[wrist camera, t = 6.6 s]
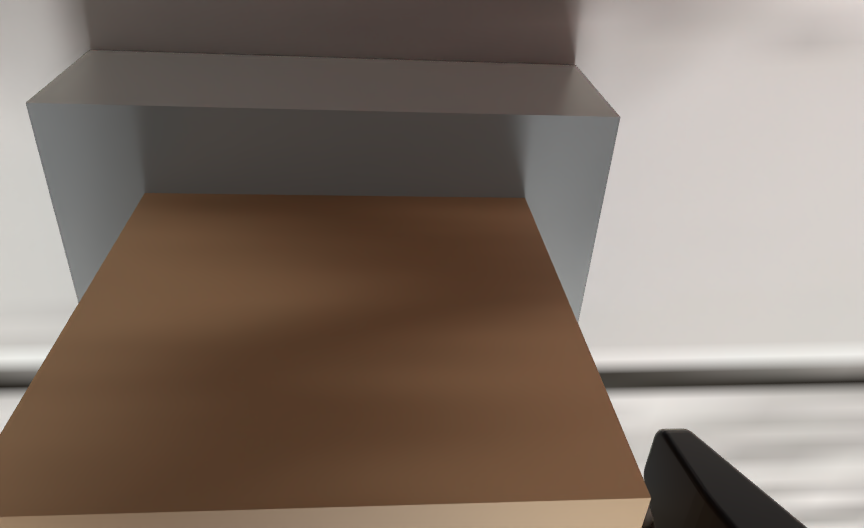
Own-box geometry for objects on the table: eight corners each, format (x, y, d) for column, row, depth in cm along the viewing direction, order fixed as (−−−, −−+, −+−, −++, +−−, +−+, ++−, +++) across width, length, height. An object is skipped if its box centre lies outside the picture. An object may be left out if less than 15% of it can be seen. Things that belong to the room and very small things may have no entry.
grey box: (575, 64, 12) (620, 117, 10) (519, 408, 16) (542, 495, 14) (89, 49, 11) (26, 103, 9) (164, 413, 15) (132, 507, 13)
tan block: (524, 197, 10) (650, 496, 6) (489, 455, 13) (554, 791, 9) (144, 192, 10) (-51, 519, 5) (193, 461, 13) (97, 822, 8)
